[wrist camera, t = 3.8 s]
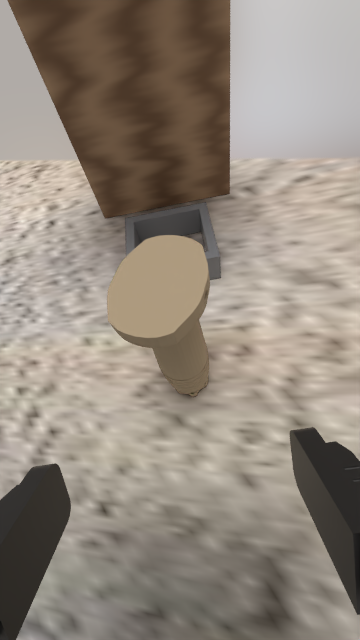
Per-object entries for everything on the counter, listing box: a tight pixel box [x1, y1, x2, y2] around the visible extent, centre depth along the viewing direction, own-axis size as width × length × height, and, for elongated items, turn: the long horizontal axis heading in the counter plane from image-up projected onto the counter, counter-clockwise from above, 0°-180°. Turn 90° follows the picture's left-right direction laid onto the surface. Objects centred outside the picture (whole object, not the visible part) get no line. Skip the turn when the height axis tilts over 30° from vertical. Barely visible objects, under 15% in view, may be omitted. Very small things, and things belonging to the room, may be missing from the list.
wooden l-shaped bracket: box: [8, 0, 230, 218], centre depth 25 cm, size 18×14×32 cm
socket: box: [125, 202, 221, 280], centre depth 34 cm, size 10×9×4 cm
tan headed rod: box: [107, 235, 210, 397], centre depth 21 cm, size 5×6×15 cm
